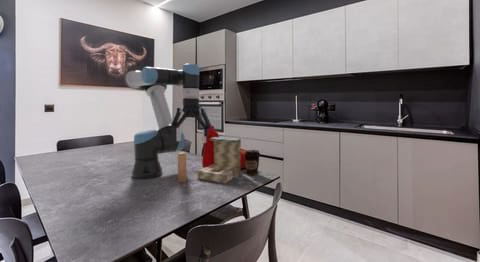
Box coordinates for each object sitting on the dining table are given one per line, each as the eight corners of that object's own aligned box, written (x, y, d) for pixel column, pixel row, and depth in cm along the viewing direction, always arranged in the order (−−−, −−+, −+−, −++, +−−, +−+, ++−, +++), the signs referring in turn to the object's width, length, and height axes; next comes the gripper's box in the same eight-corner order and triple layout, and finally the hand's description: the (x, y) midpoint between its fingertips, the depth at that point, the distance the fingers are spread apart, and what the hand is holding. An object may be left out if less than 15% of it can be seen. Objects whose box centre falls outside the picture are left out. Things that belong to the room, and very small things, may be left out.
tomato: (224, 169, 136) (224, 151, 135) (233, 164, 149) (233, 147, 148) (246, 171, 132) (247, 153, 131) (253, 166, 144) (253, 149, 143)
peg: (176, 181, 114) (175, 153, 113) (182, 179, 118) (181, 152, 116) (183, 183, 113) (182, 154, 111) (188, 180, 116) (187, 152, 115)
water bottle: (208, 163, 151) (208, 124, 148) (221, 165, 144) (221, 125, 141) (198, 166, 143) (197, 125, 140) (211, 169, 137) (210, 126, 134)
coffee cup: (258, 177, 122) (259, 152, 120) (243, 176, 124) (243, 152, 122) (260, 172, 130) (260, 149, 129) (245, 171, 132) (246, 148, 131)
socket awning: (197, 178, 120) (197, 141, 118) (215, 170, 135) (215, 137, 133) (224, 183, 113) (224, 143, 111) (240, 173, 128) (240, 139, 126)
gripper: (163, 97, 111) (164, 141, 114) (212, 98, 104) (212, 145, 107) (172, 97, 118) (172, 138, 121) (218, 98, 111) (218, 142, 114)
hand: (191, 141), depth 114 cm, fingers open, 13 cm apart
